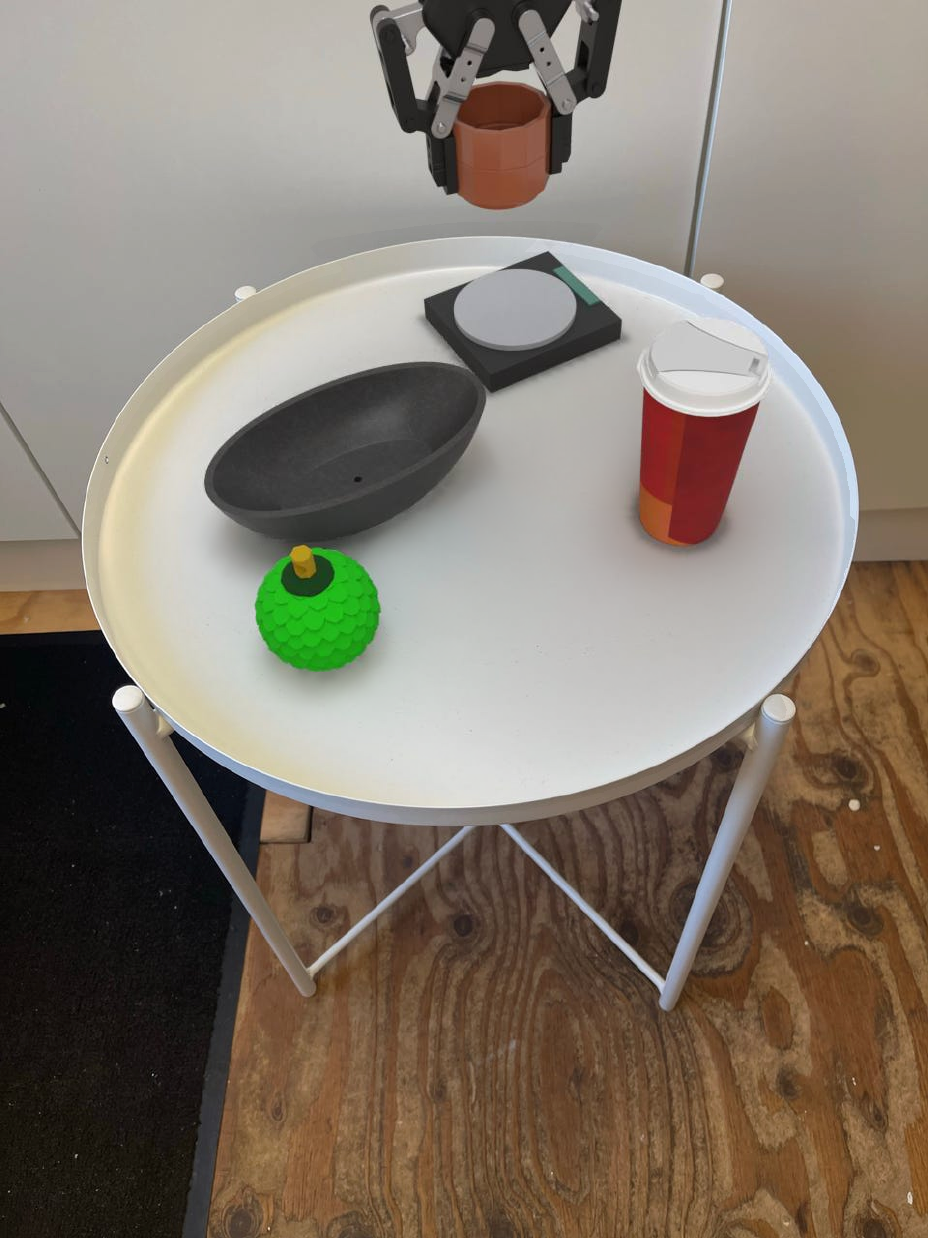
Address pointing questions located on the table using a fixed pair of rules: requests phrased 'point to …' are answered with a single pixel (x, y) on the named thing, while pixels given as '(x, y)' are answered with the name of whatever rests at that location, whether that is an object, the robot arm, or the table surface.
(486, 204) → the small bowl
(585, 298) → the scale
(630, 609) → the table surface
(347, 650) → the ornament
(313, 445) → the bowl
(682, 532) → the coffee cup
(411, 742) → the table surface
